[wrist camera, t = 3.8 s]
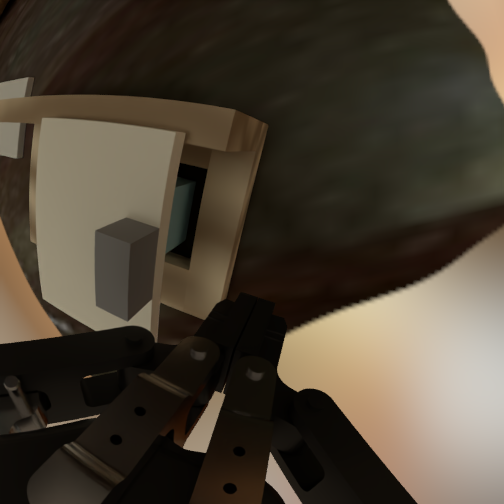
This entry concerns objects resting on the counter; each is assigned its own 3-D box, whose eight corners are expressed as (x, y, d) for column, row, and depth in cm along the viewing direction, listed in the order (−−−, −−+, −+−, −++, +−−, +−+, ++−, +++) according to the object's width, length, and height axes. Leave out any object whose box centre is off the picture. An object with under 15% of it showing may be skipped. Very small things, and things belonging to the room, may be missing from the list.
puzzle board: (51, 100, 23) (-10, 101, 15) (268, 124, 20) (235, 109, 12) (42, 235, 29) (-10, 259, 21) (223, 311, 26) (184, 373, 18)
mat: (1, 83, 24) (-4, 83, 23) (34, 77, 22) (28, 77, 21) (-8, 151, 27) (-13, 152, 27) (22, 157, 26) (16, 158, 25)
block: (144, 168, 23) (77, 181, 16) (196, 181, 22) (138, 199, 15) (137, 223, 25) (76, 253, 18) (185, 239, 24) (131, 278, 17)
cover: (53, 117, 14) (12, 119, 11) (185, 132, 13) (145, 130, 10) (51, 293, 19) (21, 312, 16) (156, 348, 18) (129, 381, 14)
